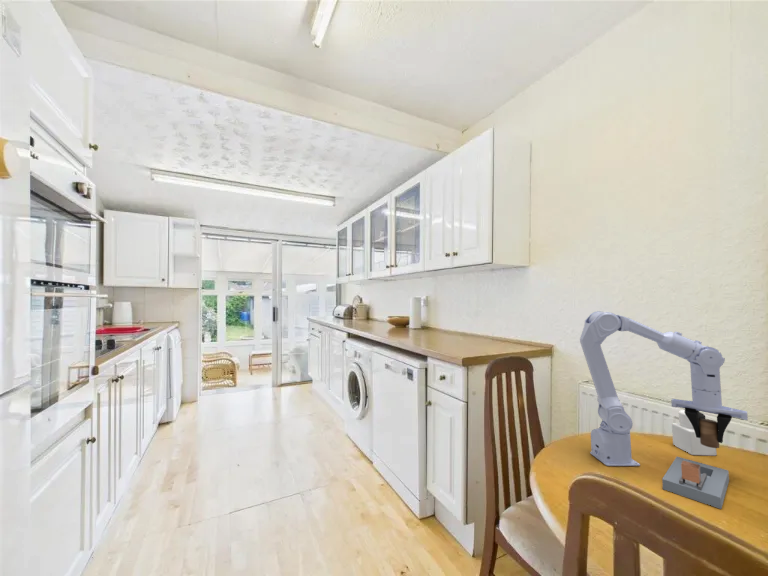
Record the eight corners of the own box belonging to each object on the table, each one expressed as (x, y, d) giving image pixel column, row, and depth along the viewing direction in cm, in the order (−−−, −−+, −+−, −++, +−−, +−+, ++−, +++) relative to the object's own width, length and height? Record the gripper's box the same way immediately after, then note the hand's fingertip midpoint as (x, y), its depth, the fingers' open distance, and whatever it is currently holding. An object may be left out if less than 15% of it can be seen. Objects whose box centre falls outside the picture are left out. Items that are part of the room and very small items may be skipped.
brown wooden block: (709, 448, 84) (707, 423, 85) (696, 442, 88) (695, 418, 88) (723, 448, 84) (721, 423, 85) (709, 442, 88) (708, 418, 88)
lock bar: (699, 488, 74) (698, 468, 74) (682, 482, 77) (681, 463, 77) (704, 477, 79) (702, 459, 79) (687, 472, 81) (686, 454, 81)
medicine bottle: (696, 445, 101) (693, 407, 102) (717, 456, 94) (714, 415, 95) (672, 444, 102) (670, 407, 103) (691, 455, 95) (688, 415, 96)
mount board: (721, 509, 70) (720, 494, 71) (662, 489, 78) (661, 475, 78) (729, 480, 82) (728, 467, 82) (677, 465, 89) (676, 453, 90)
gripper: (746, 391, 84) (750, 443, 83) (673, 381, 95) (676, 427, 94) (745, 397, 79) (749, 452, 79) (668, 385, 91) (671, 433, 90)
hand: (709, 439), depth 86 cm, fingers closed on brown wooden block, 4 cm apart
